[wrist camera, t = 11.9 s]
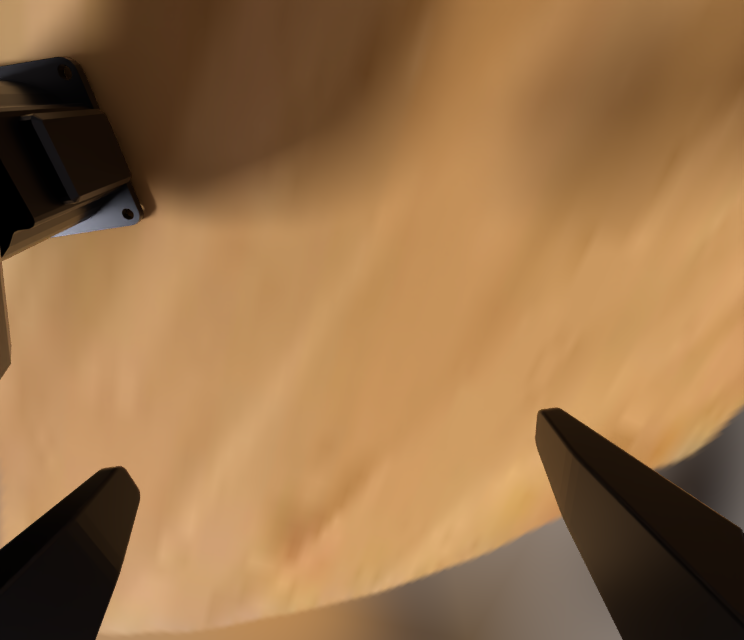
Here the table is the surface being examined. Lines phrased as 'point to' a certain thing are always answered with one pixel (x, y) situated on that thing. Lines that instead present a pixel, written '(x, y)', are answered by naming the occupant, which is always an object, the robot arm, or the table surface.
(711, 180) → the table surface
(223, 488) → the table surface
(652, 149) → the table surface
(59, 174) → the robot arm
